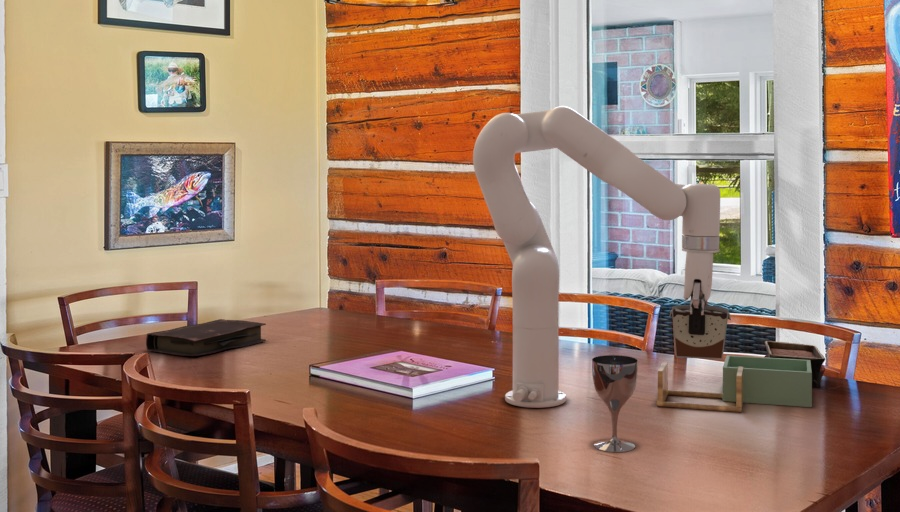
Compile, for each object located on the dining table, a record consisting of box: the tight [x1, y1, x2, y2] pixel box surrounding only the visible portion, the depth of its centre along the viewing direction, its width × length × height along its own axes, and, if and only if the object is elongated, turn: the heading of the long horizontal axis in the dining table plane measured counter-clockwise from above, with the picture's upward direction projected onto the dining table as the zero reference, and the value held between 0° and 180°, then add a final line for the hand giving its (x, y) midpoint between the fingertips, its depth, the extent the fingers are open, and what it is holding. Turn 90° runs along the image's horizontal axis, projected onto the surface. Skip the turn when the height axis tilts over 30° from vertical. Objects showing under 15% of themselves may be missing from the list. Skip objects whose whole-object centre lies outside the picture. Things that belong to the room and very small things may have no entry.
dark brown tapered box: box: [764, 340, 826, 388], centre depth 218 cm, size 14×18×10 cm
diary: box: [145, 318, 267, 357], centre depth 255 cm, size 19×25×5 cm
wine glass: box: [591, 354, 639, 453], centre depth 169 cm, size 8×8×15 cm
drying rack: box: [656, 361, 744, 413], centre depth 198 cm, size 11×17×7 cm, turn 74°
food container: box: [668, 304, 732, 360], centre depth 198 cm, size 12×6×10 cm, turn 84°
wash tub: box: [722, 354, 813, 408], centre depth 203 cm, size 13×18×7 cm
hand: (698, 330), depth 198 cm, fingers closed on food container, 6 cm apart
